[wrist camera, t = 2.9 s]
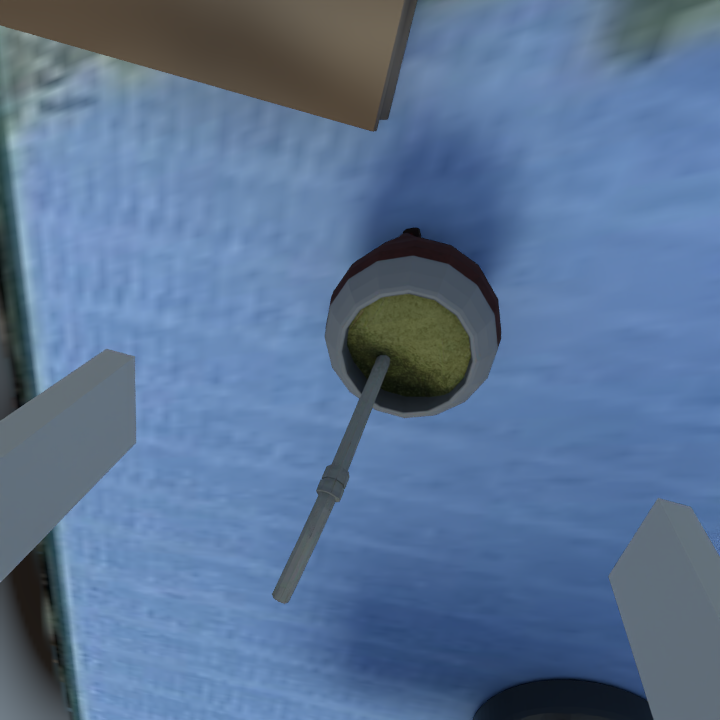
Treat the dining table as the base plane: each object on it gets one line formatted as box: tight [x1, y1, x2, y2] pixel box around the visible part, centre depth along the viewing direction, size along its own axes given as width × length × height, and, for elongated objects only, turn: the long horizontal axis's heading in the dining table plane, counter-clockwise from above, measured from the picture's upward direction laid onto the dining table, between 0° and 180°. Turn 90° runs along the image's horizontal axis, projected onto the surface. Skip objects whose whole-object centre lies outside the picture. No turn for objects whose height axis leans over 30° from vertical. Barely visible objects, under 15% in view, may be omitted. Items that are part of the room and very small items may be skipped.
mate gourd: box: [272, 228, 501, 604], centre depth 19 cm, size 8×8×15 cm
